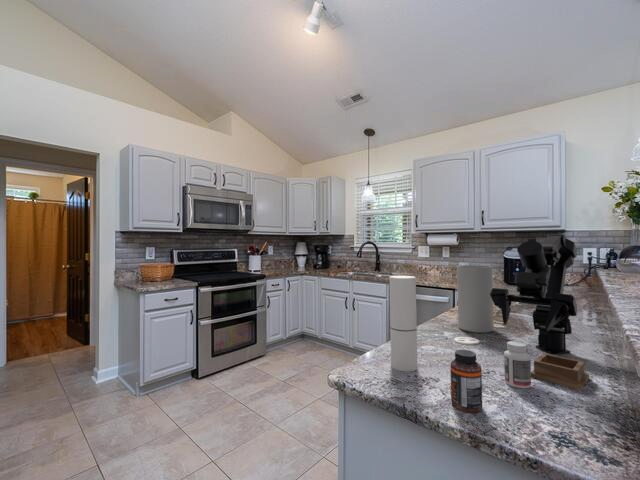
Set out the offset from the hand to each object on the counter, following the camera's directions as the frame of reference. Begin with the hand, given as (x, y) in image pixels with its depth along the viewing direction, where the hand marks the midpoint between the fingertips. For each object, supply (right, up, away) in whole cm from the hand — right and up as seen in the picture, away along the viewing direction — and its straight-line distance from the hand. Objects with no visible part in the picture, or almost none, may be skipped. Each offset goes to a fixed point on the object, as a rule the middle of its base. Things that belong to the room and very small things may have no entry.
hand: (524, 327), depth 78 cm
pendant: (0, -14, +28) cm, 31 cm away
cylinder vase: (+10, -13, +43) cm, 46 cm away
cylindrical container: (-29, -13, +7) cm, 33 cm away
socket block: (+8, -12, -1) cm, 15 cm away
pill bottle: (-5, -13, -5) cm, 14 cm away
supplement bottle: (-22, -13, -14) cm, 29 cm away
